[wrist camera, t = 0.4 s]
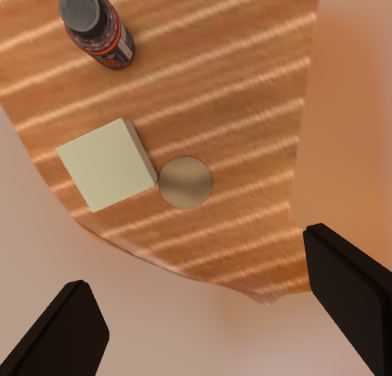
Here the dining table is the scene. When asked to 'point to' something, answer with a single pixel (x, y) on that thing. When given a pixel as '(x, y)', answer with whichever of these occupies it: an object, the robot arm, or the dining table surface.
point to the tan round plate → (185, 182)
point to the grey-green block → (108, 164)
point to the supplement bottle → (98, 31)
